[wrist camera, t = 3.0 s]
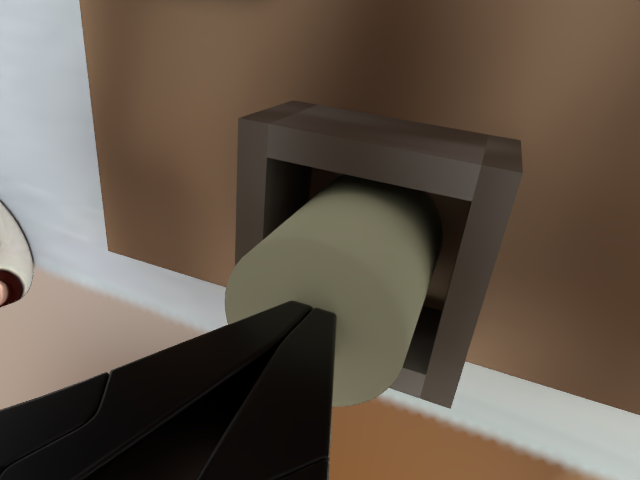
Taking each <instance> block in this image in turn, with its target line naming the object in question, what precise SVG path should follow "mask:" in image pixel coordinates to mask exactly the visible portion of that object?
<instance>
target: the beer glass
mask: <svg viewBox="0 0 640 480" xmlns="http://www.w3.org/2000/svg"><path fill="white" fill-rule="evenodd" d="M32 279H33V262H32V257H31V253H30V249H29V246H28V244H27V241H26V239H25V237H24V235H23V233H22V231H21V229H20V227H19V225H18V224H17V222H16V221H15V219H14V218H13V216H12V215H11V214H10V212H9V211H8V210H7V209H6V208H5V206H4V205H3V204H2V203H1V202H0V307H2V306H5V305H8V304H11V303H14V302H16V301H18V300H20V299H21V298H22V297H23V296H24V295H26V293H27V292H28V290H29V289H30V286H31V283H32Z"/></svg>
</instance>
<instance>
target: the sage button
mask: <svg viewBox="0 0 640 480" xmlns="http://www.w3.org/2000/svg"><path fill="white" fill-rule="evenodd" d="M442 241H443V230H442V223H441V219H440V215H439V213H438V211H437V208H436V206H435V204H434V203H433V201H432V199H431V198H430V197H429V196H428V194H427V193H426V192H425V191H421V190H416V189H411V188H407V187H402V186H397V185H393V184H388V183H383V182H379V181H374V180H370V179H365V178H360V177H356V176H351V175H346V174H343V175H341V176H339V177H338V178H336V179H335V180H334V181H332V182H331V183H330V184H329V185H328V186H326V187H325V188H324V189H323V190H322V191H321V192H319V193H318V194H317V195H316V196H315V197H313V198H312V199H311V200H310V201H309V202H307V203H306V204H305V205H304V206H303V207H302V208H300V209H299V210H298V211H297V212H296V213H294V214H293V215H292V216H291V217H290V218H288V219H287V220H286V221H285V222H284V223H283V224H281V225H280V226H279V227H278V228H277V229H275V230H274V231H273V232H272V233H271V234H269V235H268V236H267V237H266V238H265V239H264V240H262V241H261V242H260V243H259V244H258V245H256V246H255V247H254V248H253V249H252V250H250V251H249V252H248V253H247V254H246V255H245V256H243V257H242V259H241V260H240V261H239V262H238V263H237V264H236V266H235V268H234V269H233V271H232V273H231V275H230V277H229V280H228V283H227V287H226V293H225V311H226V317H227V322H228V325H229V324H231V323H234V322H237V321H239V320H242V319H244V318H247V317H249V316H252V315H255V314H257V313H260V312H262V311H265V310H267V309H270V308H273V307H275V306H278V305H280V304H283V303H285V302H288V301H292V300H293V301H297V302H300V303H304V304H307V305H310V306H312V307H313V309H314V308H320V309H323V310H327V311H330V312H333V313H335V314H336V316H337V324H336V343H335V363H334V382H333V401H332V406H349V405H356V404H360V403H364V402H366V401H369V400H371V399H373V398H375V397H377V396H379V395H380V394H382V393H383V392H384V391H385V390H387V389H388V388H389V387H390V386H391V385H392V384H393V382H394V381H395V380H396V378H397V377H398V375H399V373H400V371H401V369H402V367H403V364H404V361H405V358H406V355H407V352H408V349H409V346H410V343H411V340H412V336H413V333H414V330H415V327H416V324H417V321H418V318H419V315H420V312H421V309H422V306H423V303H424V300H425V297H426V294H427V291H428V288H429V285H430V282H431V279H432V275H433V272H434V269H435V266H436V263H437V260H438V257H439V254H440V251H441V247H442Z"/></svg>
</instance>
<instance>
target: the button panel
mask: <svg viewBox="0 0 640 480" xmlns="http://www.w3.org/2000/svg"><path fill="white" fill-rule="evenodd" d="M79 1H80V10H81V18H82V27H83V36H84V44H85V53H86V62H87V70H88V79H89V88H90V97H91V105H92V114H93V123H94V131H95V140H96V149H97V157H98V166H99V175H100V183H101V192H102V201H103V209H104V218H105V227H106V235H107V244H108V251H111V252H114V253H117V254H120V255H123V256H127V257H130V258H133V259H136V260H140V261H143V262H146V263H149V264H153V265H156V266H159V267H162V268H166V269H169V270H172V271H175V272H178V273H182V274H185V275H188V276H191V277H195V278H198V279H201V280H204V281H208V282H211V283H214V284H217V285H221V286H224V287H227V283H228V280H229V277H230V275H231V273H232V271H233V269H234V268H235V266H236V264H237V263H238V262H239V261H240V260H241V259H242V257H243V256H245V255H246V254H247V253H248V252H249V251H250V250H252V249H253V248H254V247H255V246H256V245H258V244H259V243H260V242H261V241H262V240H264V239H265V238H266V237H267V236H268V235H269V234H271V233H272V232H273V231H274V230H275V229H277V228H278V227H279V226H280V225H281V224H283V223H284V222H285V221H286V220H287V219H288V218H290V217H291V216H292V215H293V214H294V213H296V212H297V211H298V210H299V209H300V208H302V207H303V206H304V205H305V204H306V203H307V202H309V201H310V200H311V199H312V198H313V197H315V196H316V195H317V194H318V193H319V192H321V191H322V190H323V189H324V188H325V187H326V186H328V185H329V184H330V183H331V182H332V181H334V180H335V179H336V178H338V177H339V176H341V175H343V174H346V175H351V176H356V177H360V178H365V179H370V180H374V181H379V182H383V183H388V184H393V185H397V186H402V187H407V188H411V189H416V190H421V191H425V192H426V193H427V194H428V196H429V197H430V198H431V199H432V201H433V203H434V204H435V206H436V208H437V211H438V213H439V215H440V219H441V223H442V230H443V241H442V247H441V251H440V254H439V257H438V260H437V263H436V266H435V269H434V272H433V275H432V279H431V282H430V285H429V288H428V291H427V294H426V297H425V300H424V303H423V306H422V309H421V312H420V315H419V318H418V321H417V324H416V327H415V330H414V333H413V336H412V340H411V343H410V346H409V349H408V352H407V355H406V358H405V361H404V364H403V367H402V369H401V371H400V373H399V375H398V377H397V378H396V380H395V381H394V382H393V384H392V385H391V386H390V387H389V388H391V389H394V390H397V391H400V392H403V393H406V394H409V395H412V396H415V397H418V398H421V399H424V400H426V401H429V402H432V403H435V404H438V405H441V406H444V407H447V408H451V405H452V402H453V399H454V395H455V392H456V389H457V386H458V382H459V379H460V376H461V373H462V369H463V366H464V363H465V361H466V362H470V363H473V364H476V365H479V366H483V367H486V368H489V369H492V370H496V371H499V372H502V373H505V374H509V375H512V376H515V377H518V378H521V379H525V380H528V381H531V382H534V383H538V384H541V385H544V386H547V387H551V388H554V389H557V390H560V391H564V392H567V393H570V394H573V395H576V396H580V397H583V398H586V399H589V400H593V401H596V402H599V403H602V404H606V405H609V406H612V407H615V408H619V409H622V410H625V411H628V412H631V413H635V414H638V415H640V0H79Z"/></svg>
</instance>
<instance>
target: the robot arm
mask: <svg viewBox="0 0 640 480" xmlns="http://www.w3.org/2000/svg"><path fill="white" fill-rule="evenodd" d="M336 324H337V316H336V314H335V313H333V312H330V311H327V310H323V309H320V308H314V309H313V307H312V306H310V305H307V304H304V303H300V302H297V301H293V300H292V301H288V302H285V303H283V304H280V305H278V306H275V307H273V308H270V309H267V310H265V311H262V312H260V313H257V314H255V315H252V316H249V317H247V318H244V319H242V320H239V321H237V322H234V323H231V324H229V325H226V326H224V327H221V328H219V329H216V330H213V331H211V332H208V333H206V334H203V335H201V336H198V337H195V338H193V339H190V340H188V341H185V342H183V343H180V344H177V345H175V346H173V347H170V348H167V349H165V350H162V351H159V352H157V353H154V354H152V355H149V356H146V357H144V358H141V359H139V360H136V361H134V362H131V363H129V364H126V365H123V366H121V367H118V368H116V369H113V370H111V372H110V374H108V373H107V372H105V373H102V374H100V375H97V376H95V377H92V378H89V379H87V380H85V381H82V382H79V383H76V384H74V385H71V386H68V387H65V388H63V389H60V390H57V391H55V392H52V393H49V394H46V395H44V396H41V397H38V398H35V399H32V400H29V401H26V402H23V403H20V404H17V405H14V406H11V407H8V408H4V409H2V410H0V480H329V459H330V440H331V439H330V438H331V421H332V401H333V382H334V363H335V343H336Z"/></svg>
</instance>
